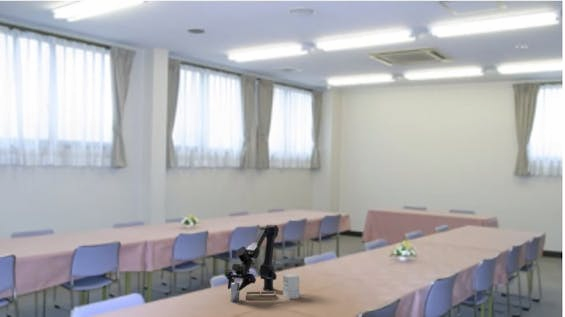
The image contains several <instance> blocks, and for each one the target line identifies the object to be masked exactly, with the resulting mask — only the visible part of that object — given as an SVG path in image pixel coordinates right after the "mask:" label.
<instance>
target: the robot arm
mask: <svg viewBox="0 0 565 317" xmlns="http://www.w3.org/2000/svg"><path fill="white" fill-rule="evenodd" d="M279 230H280V228H279V227H278V225H275V224H266V225H265V226H261V227H260V228H259V230H258V232H257V235H256V237H255V238H254V240H253V241H252V243H251V244H250V245H248V246H247V247H245V246H241V247H240V248H238V249H237V250H236V251H235V256H236V257H237V258H238V260H239V262H241V263H240V264H238V263H232V266H231V270H233V271H234V272H233V271H231V270H226V271H225V272H224V274H223V275H224V276H225V278H226V279H227V280H228V282H227V289H228V290H231V283H232V282H236V281H235V279H240V280H241V279H242V282H241V283H240V287H239V291H242V290H243V289H244V288H246V287H247V286H249V285H252V284H256V281H257V279H256V277H255V275H254V274H253V273H251V270H250V269H251V268H252V266H254V265H255V262H254V259H257V258H258V257H259V255H260V252H261V251H260V248H261V246H262V244H263V242H264V240H265V238H266V241H265V250H264V257H263V258H264V260H263V263H262V264H260V265H259V276H260V279H261V280H263V287H262V289H263V291H274V290H275V288H274V281H275V280H277V277H278V276H277V274H276V272H275V267H274V264H273V258H274V256H273V255H274V249H275V248H274V247H275V240H276V238H277V237H278V236H279Z"/></svg>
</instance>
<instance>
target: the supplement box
mask: <svg viewBox="0 0 565 317" xmlns="http://www.w3.org/2000/svg"><path fill="white" fill-rule="evenodd" d="M283 297H284V298H285V299H287V300H292V299H299V298H300V275H298V274H295V273H294V274H293V273H290V274H282V298H283Z"/></svg>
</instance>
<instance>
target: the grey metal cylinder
mask: <svg viewBox="0 0 565 317" xmlns="http://www.w3.org/2000/svg"><path fill="white" fill-rule="evenodd" d="M240 285H241V283H240V282H238V281H235V282H232V283H231V288H230V302H231V303H239V302H240V293H241V292H240V291H241V290H240V291H239V287H240Z"/></svg>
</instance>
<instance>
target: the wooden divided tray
mask: <svg viewBox="0 0 565 317" xmlns="http://www.w3.org/2000/svg"><path fill="white" fill-rule="evenodd" d="M245 300H246V301H248V300H249V301H251V300H252V301H255V300H256V301H257V300H258V301H259V300H266V301H267V300H269V301H270V300H277V293H276V291H274V290H266V291H246V292H245Z"/></svg>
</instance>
